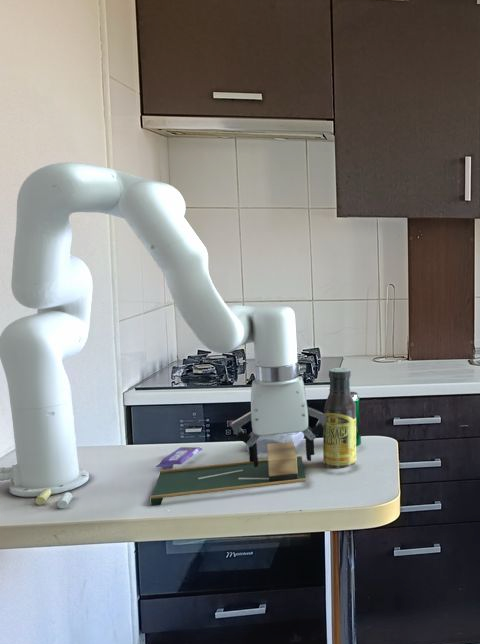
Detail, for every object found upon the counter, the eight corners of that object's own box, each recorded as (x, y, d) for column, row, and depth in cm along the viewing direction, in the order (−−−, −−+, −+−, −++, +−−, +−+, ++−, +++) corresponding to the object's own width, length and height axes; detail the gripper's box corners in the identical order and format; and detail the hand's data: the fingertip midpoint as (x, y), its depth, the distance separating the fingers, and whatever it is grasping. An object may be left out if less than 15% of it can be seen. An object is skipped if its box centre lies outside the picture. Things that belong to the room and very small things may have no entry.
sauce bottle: (318, 473, 144) (313, 371, 141) (332, 462, 150) (328, 365, 147) (349, 475, 142) (345, 373, 139) (363, 464, 148) (359, 366, 145)
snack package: (179, 462, 145) (154, 462, 145) (180, 471, 145) (155, 471, 145) (205, 443, 156) (182, 443, 156) (206, 452, 156) (183, 452, 157)
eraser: (269, 481, 136) (268, 460, 135) (268, 463, 146) (267, 443, 145) (297, 478, 137) (296, 457, 137) (294, 461, 147) (293, 441, 147)
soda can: (335, 453, 156) (332, 397, 154) (338, 445, 161) (336, 391, 159) (359, 452, 156) (357, 396, 154) (362, 445, 161) (360, 390, 159)
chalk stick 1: (36, 495, 129) (46, 497, 129) (43, 487, 132) (52, 489, 133) (34, 504, 129) (43, 505, 129) (41, 495, 133) (50, 497, 133)
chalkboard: (151, 505, 128) (150, 496, 128) (160, 478, 142) (159, 470, 141) (307, 487, 136) (306, 479, 136) (302, 463, 149) (301, 455, 149)
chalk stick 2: (62, 510, 127) (55, 504, 127) (68, 501, 131) (61, 496, 131) (69, 504, 128) (62, 498, 127) (74, 495, 131) (67, 490, 131)
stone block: (245, 466, 153) (292, 457, 152) (239, 444, 152) (286, 434, 152) (264, 450, 165) (308, 441, 164) (259, 429, 164) (303, 420, 163)
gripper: (323, 365, 145) (327, 450, 147) (228, 372, 140) (234, 461, 142) (326, 373, 138) (331, 462, 140) (227, 381, 132) (233, 473, 135)
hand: (282, 461), depth 141 cm, fingers open, 9 cm apart
